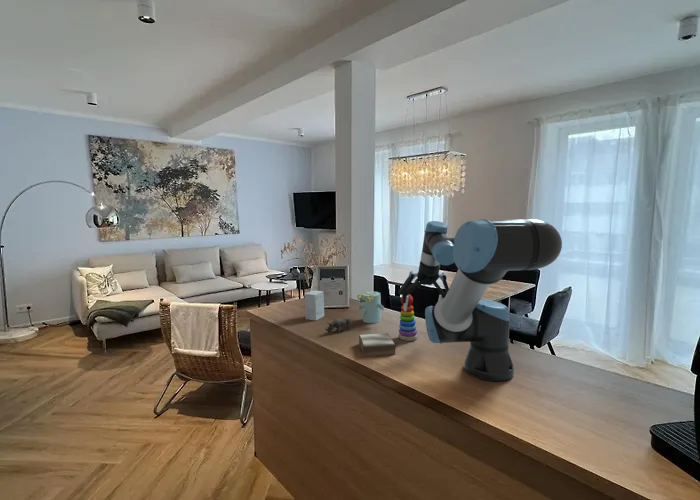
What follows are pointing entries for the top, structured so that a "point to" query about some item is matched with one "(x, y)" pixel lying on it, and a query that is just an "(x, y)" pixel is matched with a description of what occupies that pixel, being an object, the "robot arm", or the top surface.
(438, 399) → the top surface
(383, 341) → the pedestal
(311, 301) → the small box
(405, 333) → the stacking toy
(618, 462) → the top surface
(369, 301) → the character sculpture
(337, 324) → the rhino figurine
